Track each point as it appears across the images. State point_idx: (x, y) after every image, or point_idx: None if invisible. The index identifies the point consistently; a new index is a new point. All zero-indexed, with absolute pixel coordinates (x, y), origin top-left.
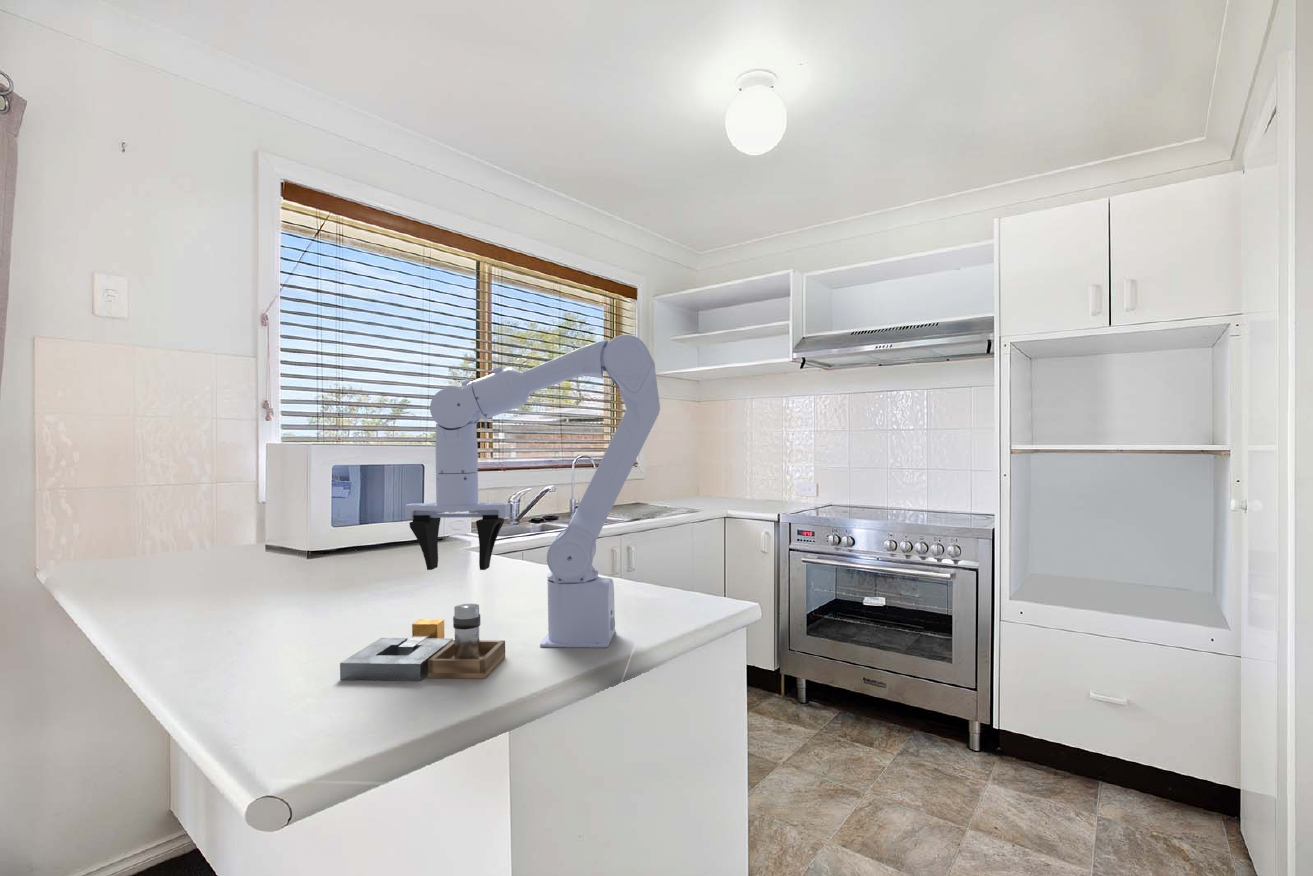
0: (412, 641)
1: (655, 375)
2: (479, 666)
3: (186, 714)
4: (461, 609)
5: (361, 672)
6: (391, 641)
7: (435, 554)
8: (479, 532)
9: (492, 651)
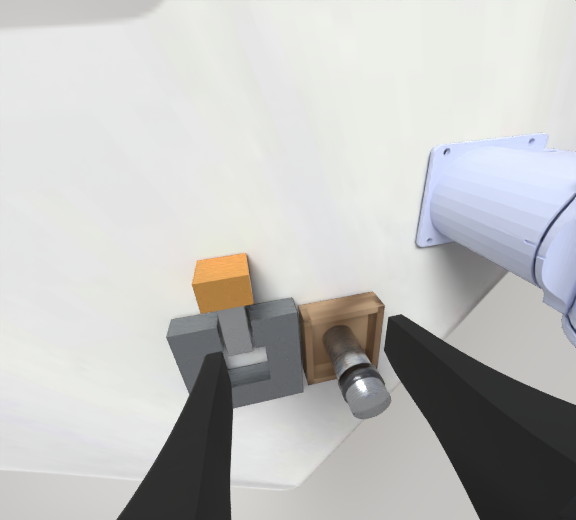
0: (234, 334)
1: None
2: None
3: (117, 473)
4: (368, 417)
5: None
6: (201, 346)
7: (221, 403)
8: (481, 506)
9: (378, 344)
